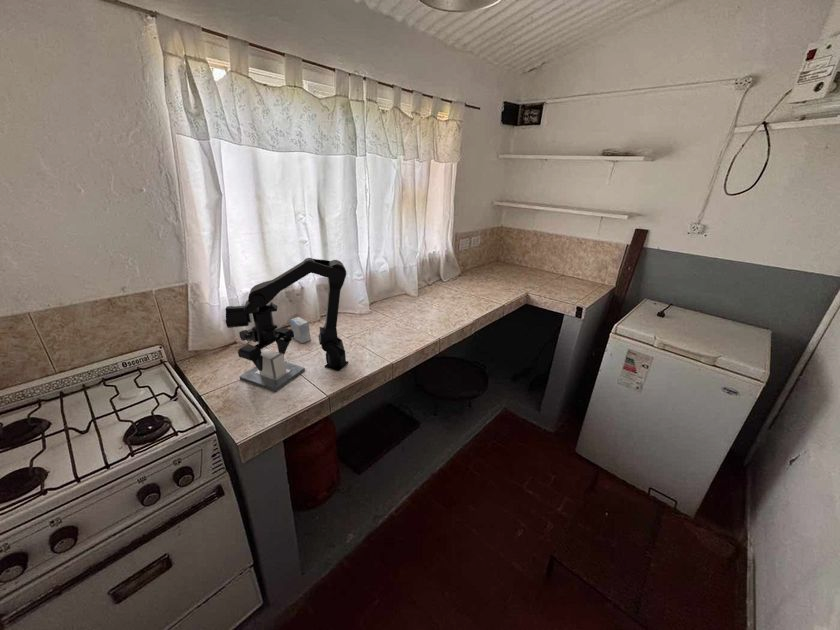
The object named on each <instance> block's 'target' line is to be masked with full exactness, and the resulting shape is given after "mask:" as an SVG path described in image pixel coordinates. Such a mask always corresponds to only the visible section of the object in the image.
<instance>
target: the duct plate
mask: <svg viewBox="0 0 840 630" xmlns="http://www.w3.org/2000/svg"><path fill="white" fill-rule="evenodd" d="M285 366H286V372H284V373H283V374H281V375H280V376H278V377H277V378H275V377H273V376H270V375H267V374H264V373H261V372H259V370H258V368H257V367H256V366H254V367H253V368H251V369H249V370H248V371H246V372H244V373H242V374H241V375H239V380H241V381H244V382H247V383H249V384H251V385H254V386H256V387H260V388H263V389H266V390H267V391H271V392H272V393H276V392H278V391H279V390H280V389H281V388H283V387H284V386H286V385H287V384H289V383H290V382H291V381H293V380H295V378H297V377H298V376H300V375H301V374H302V373H304V372H306V368H305V367H303V366H300V365H297V364H294V363H290V362H288V361H285Z"/></svg>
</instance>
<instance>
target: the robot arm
mask: <svg viewBox="0 0 840 630" xmlns="http://www.w3.org/2000/svg"><path fill="white" fill-rule="evenodd" d="M309 274H315V275H318V276H321V277H324V278H327V283H328V291H327V301H326V309H325V310H326V311H325V322H324V325H323V327H321V326H319V334H318V344H319V345H321V350H323V351H324V352H325V361H326V364H325V365H324V368H327V369H329V370H333V371H336V372H340V371H341V370H342V369H344V367H346V366H347V365H349V363H350V362H349V361H348V360H346V349H345V347H344V343H343V342H344V341H343V340H342V339H341V338H340V337H339V336H338V330H337V323H338V315H339V306H340V297H341V291H342V287H343V285H344V284H345V280H346V276H347V270H346V267H345V266H344V264H343V262H342V261H340V260H339V259H332V260H328V259H318V258H311V257H307V258H305V259H304V260H303V261H301V262H299V263H297V264H296V265H294V266H292V267H291V268H289V269H288V270H286V271H285V272H283V273H281V274H280V275H278V276H277V277H275V278H273V279H270V280H266V281H263V282H260V283H258V284H256V285H253V287H251V289H250V291H249V294H248V300H246V302H245V305H235V306H234V305H228V306H226V307H225V324H226V327H227V328H228V329H230V328H241V327H249V325H250V323H251V324H252V322H254V326H252V327H251V328H250V329H248V330H247V329H243V330H241V331H238V334H239V335H238V336H239V338H240V340H241V341H246V342H249V341H252V342H254V343H257V344H255V345H252V344H246V345H244V346H241V347H240V348H238V350H237V354H238V357H239V358H241V359H245V360H248V361H251V362H252V363H253V364H254V365H255V366H254V367H257V368H258V370H259V371H262V369H263V356H262V355H261V351H262V350H264V349H266V347H268V346H270V345H272V344H274V343H276V345H277V352H279V353H283V354H284V355H286V352H287V350H288V347H289V344H290V343H291V341H292V340H293V339H294V338H293V337H294V332H293V331H292V330H291V328H287V327H283V326H280V327H279V328H278V325H277V324H275V323H274V317H273V313H274V312H277V311H278V308H279V307H278V305H277V304H275V303H273V302H271V301H272V300H273V299H275V297H277V295H278V294H279V293H280V292H282V291H283V290H285V289H286V288H288V287H290V286H291V285H293V284H294V283H296V282H298V281H299V280H301V279H303V278H305V277H306V276H308V275H309Z"/></svg>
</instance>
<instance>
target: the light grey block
mask: <svg viewBox="0 0 840 630" xmlns="http://www.w3.org/2000/svg"><path fill="white" fill-rule="evenodd" d="M261 355H262V356H263V369H262V371H259V372H261V373H264V374H267V375H270V376H273V377H275V378H277V377H278V376H280V375H281V374H283V373H284V372H286V366H285V362H286V361H285V354H283V353H279V351H276V350H272V349H268V348H264V349H262V350H261Z"/></svg>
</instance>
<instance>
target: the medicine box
mask: <svg viewBox="0 0 840 630" xmlns="http://www.w3.org/2000/svg"><path fill="white" fill-rule="evenodd" d="M289 323H290V324H289V326H290V329H291V330H292V331H293V332H294V337H293V338H292V339H294V340H296V341H297V342H299V343H301V344H304V343H307V342H309V341H311V331H310V325H309V324H310V323H309V322H308V321H306V320H305V319H303V318H302V317H300V316H298V317H294V318H292V319H290V320H289Z"/></svg>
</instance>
